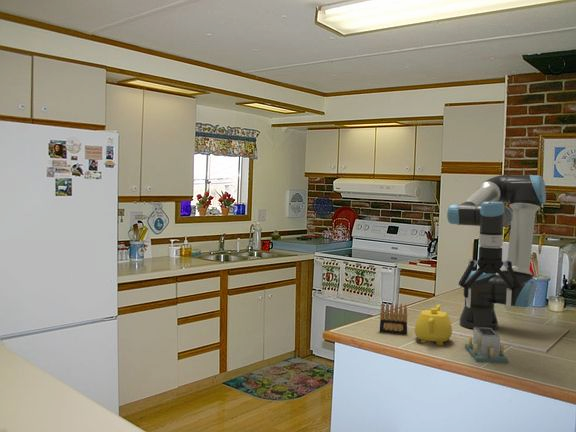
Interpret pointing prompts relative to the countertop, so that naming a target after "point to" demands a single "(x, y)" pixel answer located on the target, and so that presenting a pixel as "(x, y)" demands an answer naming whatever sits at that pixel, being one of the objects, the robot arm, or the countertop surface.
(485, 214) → the robot arm
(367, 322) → the countertop surface
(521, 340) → the countertop surface
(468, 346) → the pegboard
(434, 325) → the teapot
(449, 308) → the countertop surface
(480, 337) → the grey box
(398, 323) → the ammunition clip
